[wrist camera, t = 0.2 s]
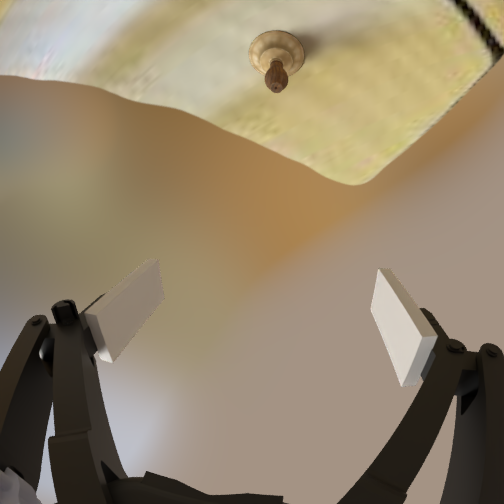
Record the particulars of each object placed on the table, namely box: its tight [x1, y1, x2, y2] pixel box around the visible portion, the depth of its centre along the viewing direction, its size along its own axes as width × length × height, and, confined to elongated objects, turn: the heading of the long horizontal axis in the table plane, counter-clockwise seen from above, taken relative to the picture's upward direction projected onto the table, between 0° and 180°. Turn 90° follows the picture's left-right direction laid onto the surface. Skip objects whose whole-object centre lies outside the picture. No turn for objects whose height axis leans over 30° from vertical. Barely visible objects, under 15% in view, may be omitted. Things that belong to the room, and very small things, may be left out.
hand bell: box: [249, 31, 304, 93], centre depth 28 cm, size 8×8×16 cm
